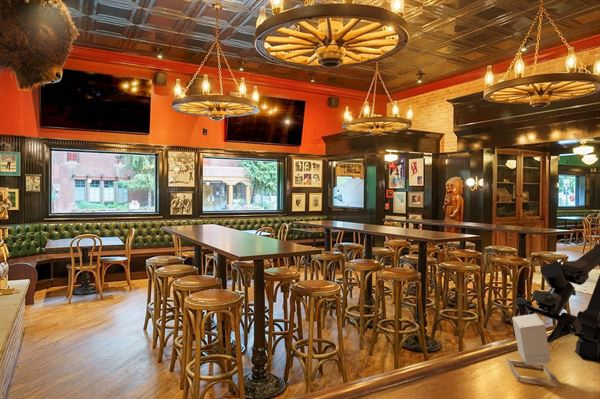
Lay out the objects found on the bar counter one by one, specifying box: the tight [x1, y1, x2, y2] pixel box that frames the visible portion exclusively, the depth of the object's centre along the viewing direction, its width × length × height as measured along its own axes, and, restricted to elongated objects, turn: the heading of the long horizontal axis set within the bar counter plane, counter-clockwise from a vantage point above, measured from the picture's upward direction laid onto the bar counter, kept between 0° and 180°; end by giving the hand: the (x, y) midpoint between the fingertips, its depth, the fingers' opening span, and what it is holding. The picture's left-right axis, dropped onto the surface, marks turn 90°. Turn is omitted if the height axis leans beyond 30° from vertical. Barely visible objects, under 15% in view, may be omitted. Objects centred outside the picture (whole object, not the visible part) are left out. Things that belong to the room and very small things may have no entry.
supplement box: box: [512, 313, 552, 365], centre depth 128 cm, size 7×7×13 cm
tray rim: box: [505, 358, 561, 388], centre depth 129 cm, size 12×12×2 cm
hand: (532, 335), depth 128 cm, fingers closed on supplement box, 9 cm apart
